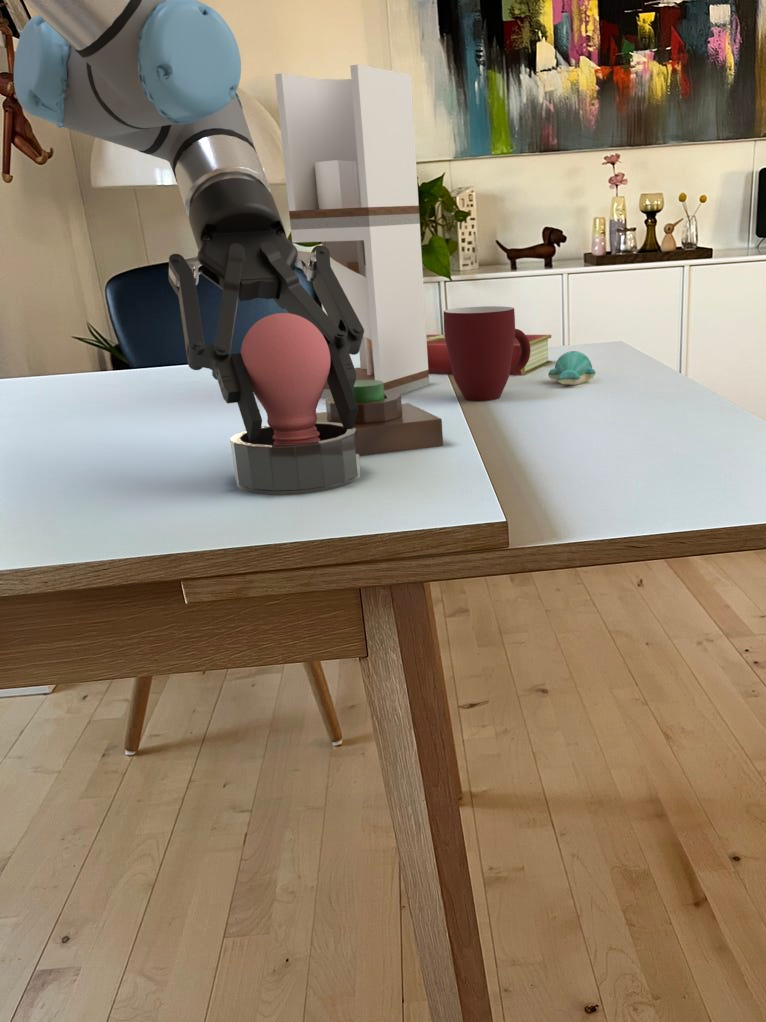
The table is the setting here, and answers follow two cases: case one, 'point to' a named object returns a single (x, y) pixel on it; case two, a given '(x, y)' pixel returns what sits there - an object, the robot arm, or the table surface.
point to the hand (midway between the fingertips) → (304, 425)
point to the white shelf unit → (362, 208)
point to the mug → (483, 349)
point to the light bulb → (287, 374)
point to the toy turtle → (572, 369)
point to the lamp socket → (296, 462)
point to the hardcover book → (538, 359)
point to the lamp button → (368, 390)
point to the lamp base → (390, 425)
